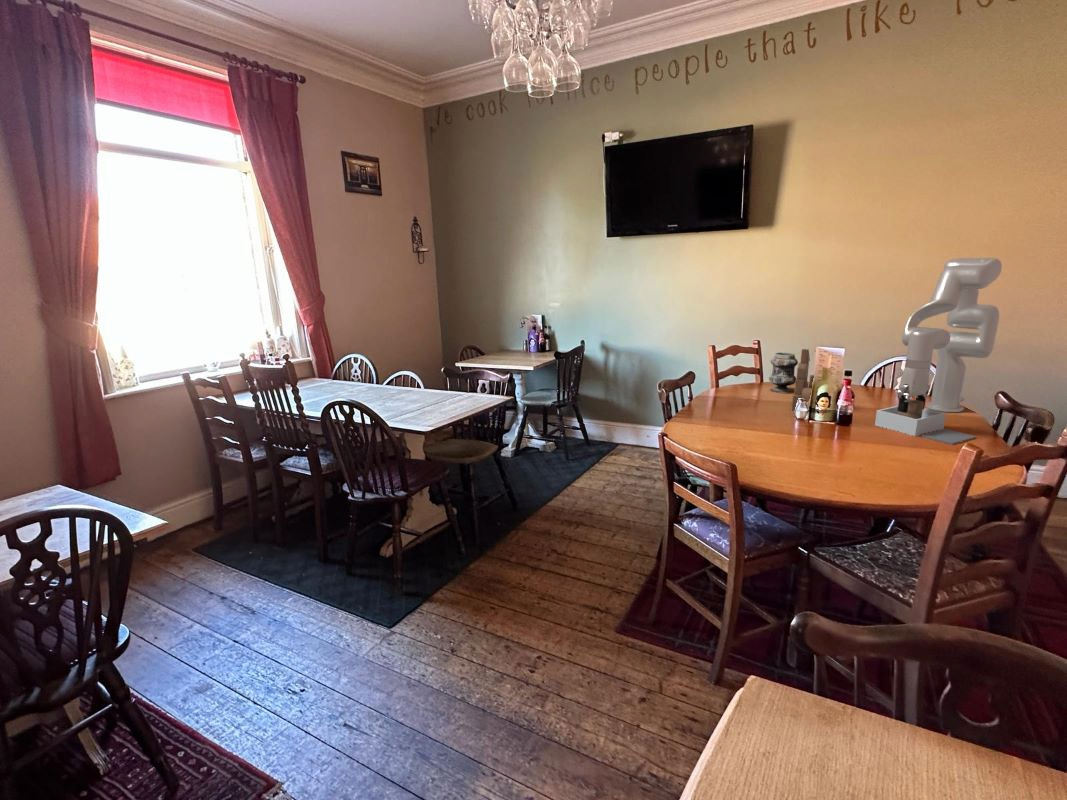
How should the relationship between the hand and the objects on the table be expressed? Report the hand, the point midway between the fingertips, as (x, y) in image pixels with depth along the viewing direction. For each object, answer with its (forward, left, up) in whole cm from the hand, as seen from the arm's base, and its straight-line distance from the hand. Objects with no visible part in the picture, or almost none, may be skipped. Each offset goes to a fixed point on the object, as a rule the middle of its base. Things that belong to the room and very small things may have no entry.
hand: (910, 410), depth 200 cm
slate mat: (0, +13, -7) cm, 15 cm away
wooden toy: (+9, -38, -7) cm, 40 cm away
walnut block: (0, 0, -5) cm, 5 cm away
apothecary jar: (-6, -63, -7) cm, 64 cm away
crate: (0, 0, -7) cm, 7 cm away
